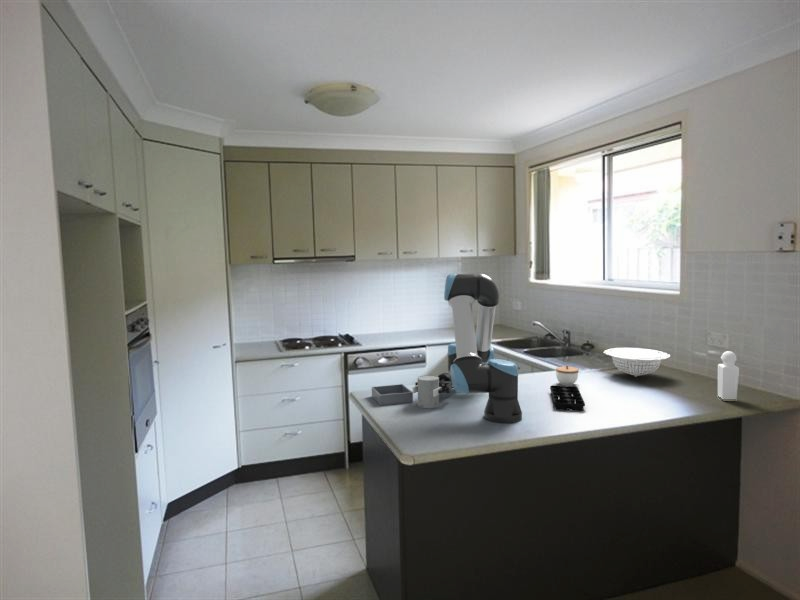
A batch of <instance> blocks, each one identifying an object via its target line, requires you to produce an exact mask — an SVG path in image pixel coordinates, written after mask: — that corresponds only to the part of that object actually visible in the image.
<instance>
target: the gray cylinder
mask: <svg viewBox="0 0 800 600" xmlns="http://www.w3.org/2000/svg"><path fill="white" fill-rule="evenodd" d="M438 376H439V375H431V374H428V375H427V374H423V375H420V376H417V377H416V379H417V382H418V392H417V407H419V408H422V409H435V408H438V407H439V406H440V394H439V395H437V396H435V397H434V396H433V390H435V389H437V388H439V377H438Z"/></svg>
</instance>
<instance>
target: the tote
mask: <svg viewBox="0 0 800 600" xmlns="http://www.w3.org/2000/svg"><path fill="white" fill-rule="evenodd" d="M371 397H372V399H373V400H374V401H375V402H376V403H378V405H379V406H387V405H397V404H407V403H414V393H413V390H411V389H409V388H408V387H407V386H406V385H404V383H400V384H399V383H397V384H389V385H380V386H377V385H376V386H371Z"/></svg>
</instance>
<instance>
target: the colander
mask: <svg viewBox="0 0 800 600" xmlns="http://www.w3.org/2000/svg"><path fill="white" fill-rule="evenodd" d="M603 354H605V355H607V356H609V357H612V363H613V364H614V366H615V368H617V369H618V371H620V372H622V373H625V374H628V375H631V376H634V377H635V378H637V377H639V376H640V377H641V376H645V375H650V374H653V373H654V372H656V371H657V370H658V369H659V367H660V366H661V362H662V360H666V359H669V358H671V354H668V353H667V352H664V351H660V350H657V349H649V348H641V347H614V348H609V349H606V350H604V351H603Z"/></svg>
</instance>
